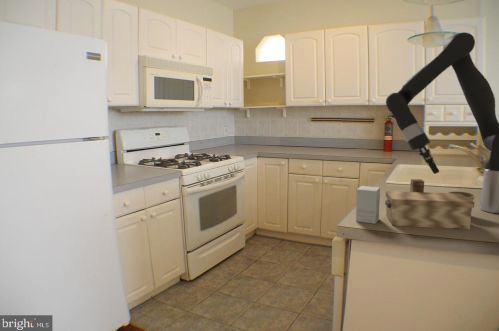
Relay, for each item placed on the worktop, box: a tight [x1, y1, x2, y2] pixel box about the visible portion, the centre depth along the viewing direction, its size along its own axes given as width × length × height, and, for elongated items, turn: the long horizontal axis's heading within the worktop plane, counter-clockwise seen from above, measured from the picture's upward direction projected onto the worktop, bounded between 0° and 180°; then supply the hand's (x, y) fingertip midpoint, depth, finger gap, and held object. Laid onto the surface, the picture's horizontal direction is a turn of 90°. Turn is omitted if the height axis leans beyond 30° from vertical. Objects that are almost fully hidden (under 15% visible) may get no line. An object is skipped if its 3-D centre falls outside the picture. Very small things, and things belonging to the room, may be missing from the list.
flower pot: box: [447, 190, 476, 202], centre depth 144 cm, size 9×9×9 cm
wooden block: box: [409, 178, 425, 192], centre depth 145 cm, size 4×4×14 cm
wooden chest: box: [384, 190, 475, 230], centre depth 139 cm, size 28×21×10 cm
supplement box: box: [355, 185, 381, 225], centre depth 138 cm, size 7×7×13 cm
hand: (436, 172), depth 142 cm, fingers open, 8 cm apart
